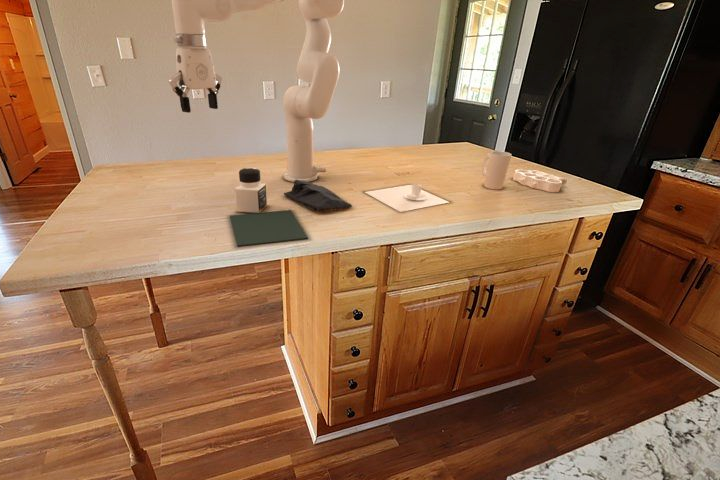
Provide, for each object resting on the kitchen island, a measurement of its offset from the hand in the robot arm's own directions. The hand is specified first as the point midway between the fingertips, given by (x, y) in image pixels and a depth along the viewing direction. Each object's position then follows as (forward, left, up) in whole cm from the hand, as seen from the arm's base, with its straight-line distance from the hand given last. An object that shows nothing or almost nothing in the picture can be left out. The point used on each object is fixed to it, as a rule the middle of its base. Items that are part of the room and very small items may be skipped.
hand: (200, 110), depth 114 cm
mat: (-13, +28, -27) cm, 41 cm away
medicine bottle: (-11, +14, -27) cm, 32 cm away
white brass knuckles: (-117, +14, -27) cm, 121 cm away
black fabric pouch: (-32, +12, -27) cm, 44 cm away
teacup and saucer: (-62, +15, -27) cm, 69 cm away
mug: (-98, +11, -27) cm, 102 cm away
